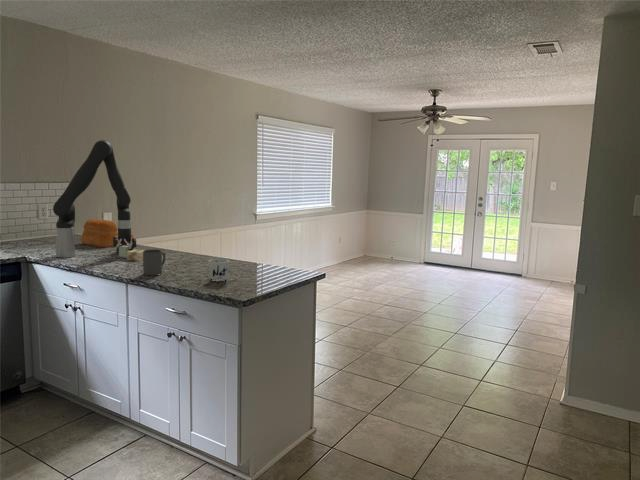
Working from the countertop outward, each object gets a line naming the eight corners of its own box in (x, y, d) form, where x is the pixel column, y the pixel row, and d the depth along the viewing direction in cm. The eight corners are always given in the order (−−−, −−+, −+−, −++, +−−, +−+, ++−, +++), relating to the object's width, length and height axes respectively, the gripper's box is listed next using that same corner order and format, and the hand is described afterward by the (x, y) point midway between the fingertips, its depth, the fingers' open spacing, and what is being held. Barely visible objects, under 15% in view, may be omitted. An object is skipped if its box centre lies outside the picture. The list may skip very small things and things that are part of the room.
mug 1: (153, 276, 246) (152, 253, 244) (139, 274, 250) (138, 251, 248) (172, 272, 258) (171, 249, 256) (158, 270, 262) (158, 247, 260)
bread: (102, 248, 320) (101, 222, 318) (79, 244, 334) (78, 218, 332) (123, 245, 334) (122, 220, 331) (100, 241, 347) (99, 217, 345)
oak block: (126, 260, 286) (126, 251, 285) (134, 257, 294) (134, 249, 293) (139, 261, 284) (139, 252, 284) (147, 258, 292) (146, 250, 291)
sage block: (119, 256, 295) (118, 246, 294) (123, 255, 300) (123, 245, 299) (126, 257, 294) (126, 247, 293) (131, 255, 299) (131, 246, 298)
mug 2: (210, 283, 236) (210, 263, 235) (204, 276, 250) (204, 257, 248) (231, 282, 240) (231, 261, 239) (225, 275, 254) (225, 256, 252)
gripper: (109, 227, 292) (110, 254, 294) (131, 228, 289) (132, 256, 291) (117, 226, 299) (118, 252, 301) (138, 227, 296) (139, 253, 299)
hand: (125, 254), depth 296 cm, fingers open, 7 cm apart
